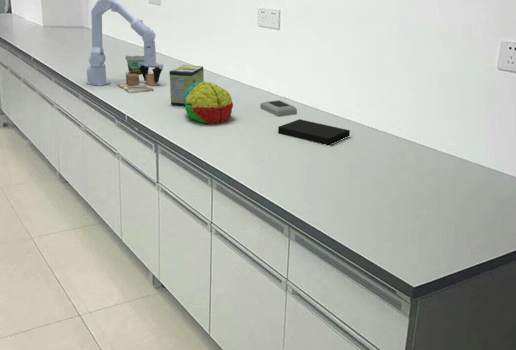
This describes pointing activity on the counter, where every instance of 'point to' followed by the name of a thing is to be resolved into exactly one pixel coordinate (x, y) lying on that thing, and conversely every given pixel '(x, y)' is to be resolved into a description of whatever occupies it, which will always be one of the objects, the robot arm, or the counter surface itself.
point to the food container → (134, 64)
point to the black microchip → (313, 131)
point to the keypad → (278, 108)
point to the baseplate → (124, 86)
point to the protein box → (183, 82)
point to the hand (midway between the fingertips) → (151, 81)
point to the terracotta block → (150, 79)
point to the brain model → (208, 103)
